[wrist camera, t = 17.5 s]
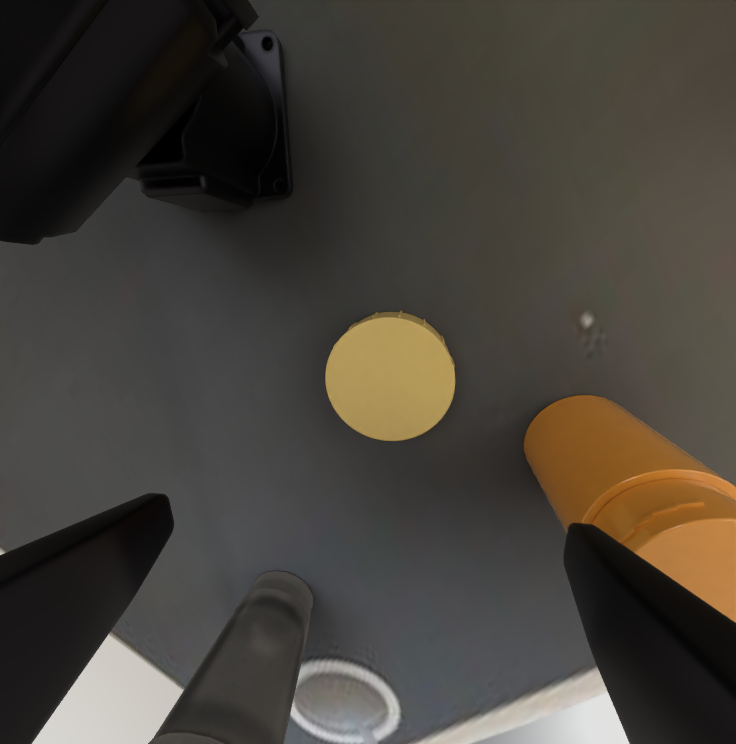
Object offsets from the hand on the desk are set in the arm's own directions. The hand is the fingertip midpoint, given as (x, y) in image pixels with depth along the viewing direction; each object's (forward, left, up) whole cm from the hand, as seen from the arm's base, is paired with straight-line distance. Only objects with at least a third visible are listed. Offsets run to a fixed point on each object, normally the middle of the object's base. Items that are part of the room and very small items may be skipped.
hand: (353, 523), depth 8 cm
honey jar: (+4, +10, -12) cm, 16 cm away
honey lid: (0, 0, -10) cm, 10 cm away
